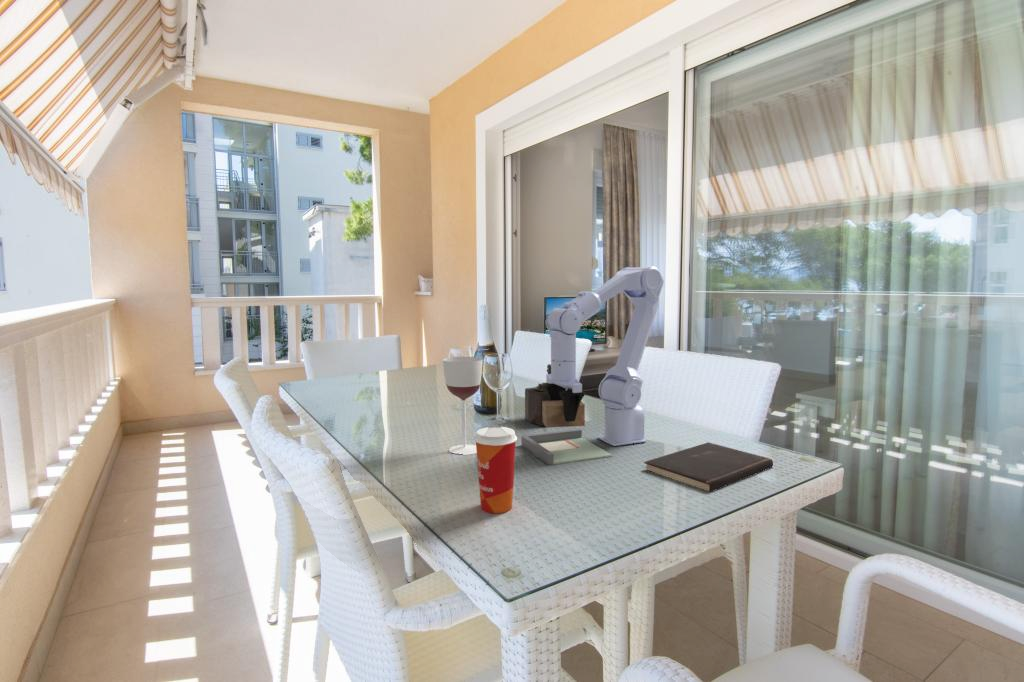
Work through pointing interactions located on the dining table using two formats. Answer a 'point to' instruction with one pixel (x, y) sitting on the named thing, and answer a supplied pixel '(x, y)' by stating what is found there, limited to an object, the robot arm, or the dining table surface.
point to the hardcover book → (708, 465)
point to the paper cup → (496, 468)
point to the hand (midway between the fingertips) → (563, 417)
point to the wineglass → (463, 389)
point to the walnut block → (560, 414)
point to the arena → (562, 447)
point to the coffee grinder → (535, 402)
